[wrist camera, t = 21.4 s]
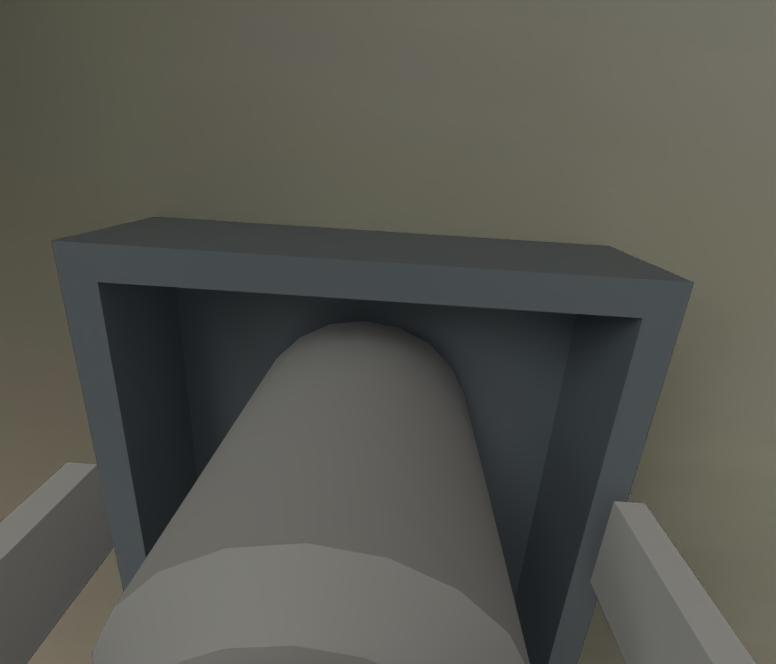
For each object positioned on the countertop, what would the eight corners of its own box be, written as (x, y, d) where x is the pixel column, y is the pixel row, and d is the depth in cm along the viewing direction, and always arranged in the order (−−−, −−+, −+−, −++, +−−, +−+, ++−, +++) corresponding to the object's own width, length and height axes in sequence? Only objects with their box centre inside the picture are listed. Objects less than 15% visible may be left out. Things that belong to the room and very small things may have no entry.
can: (343, 269, 15) (176, 560, 4) (505, 393, 17) (701, 855, 6) (230, 417, 18) (-73, 860, 7) (382, 515, 19) (346, 1017, 8)
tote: (154, 217, 16) (51, 240, 11) (609, 246, 16) (694, 282, 11) (210, 670, 25) (164, 789, 20) (505, 693, 24) (529, 819, 20)
